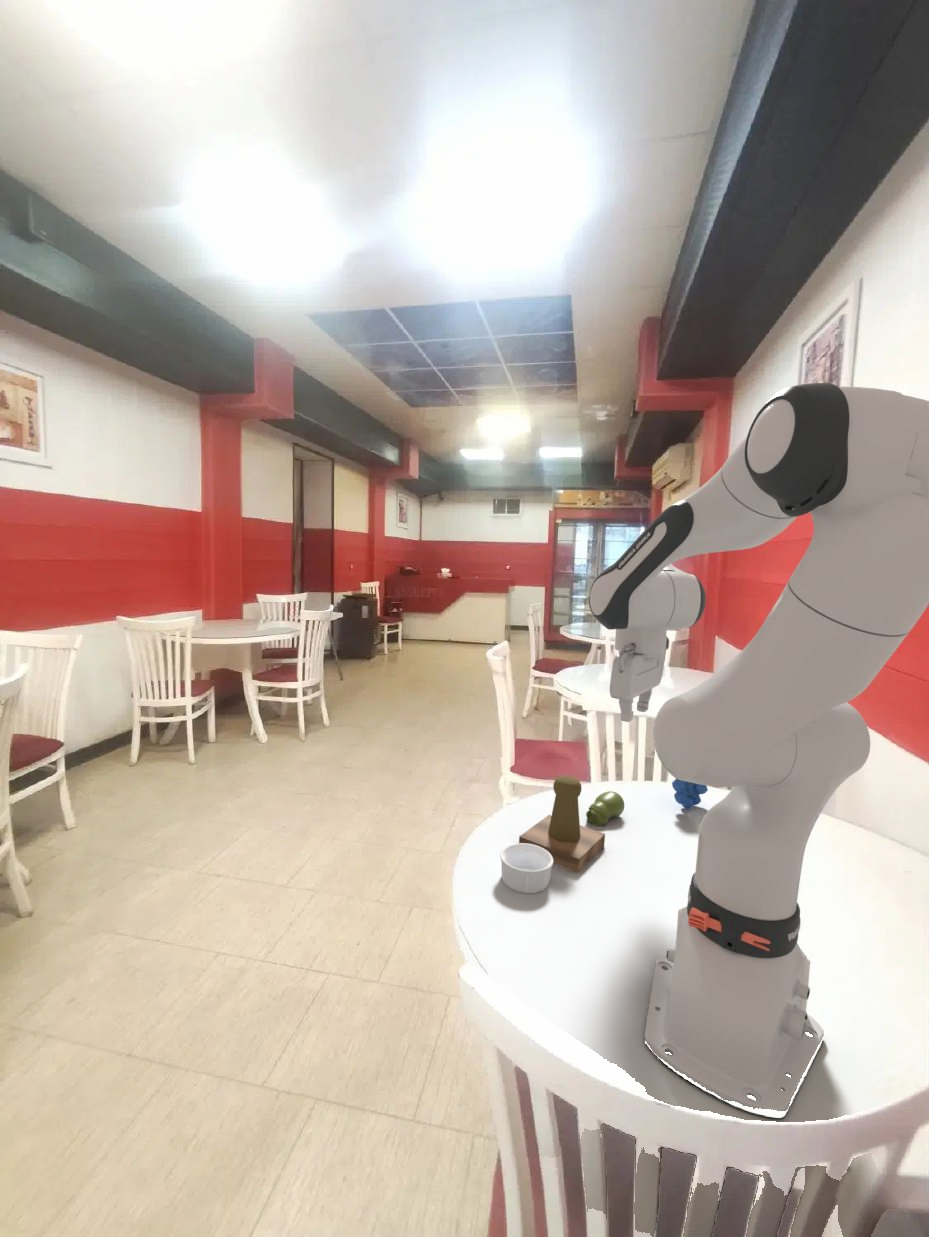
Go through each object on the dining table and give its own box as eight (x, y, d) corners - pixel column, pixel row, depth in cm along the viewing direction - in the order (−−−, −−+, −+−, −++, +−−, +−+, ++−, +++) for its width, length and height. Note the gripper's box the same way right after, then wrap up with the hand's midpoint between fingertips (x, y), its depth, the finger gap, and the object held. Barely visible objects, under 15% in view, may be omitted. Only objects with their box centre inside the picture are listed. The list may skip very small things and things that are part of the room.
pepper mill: (579, 828, 105) (583, 774, 104) (581, 844, 99) (585, 786, 98) (548, 825, 106) (551, 770, 105) (548, 840, 100) (551, 782, 99)
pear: (629, 793, 116) (601, 812, 110) (629, 815, 117) (602, 835, 111) (607, 784, 120) (579, 802, 114) (607, 805, 122) (580, 824, 115)
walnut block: (578, 872, 94) (579, 859, 94) (518, 849, 101) (519, 836, 101) (604, 846, 104) (605, 833, 104) (548, 826, 111) (548, 814, 111)
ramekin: (560, 893, 88) (562, 867, 88) (509, 899, 86) (511, 873, 85) (538, 864, 97) (540, 840, 96) (491, 869, 94) (493, 845, 94)
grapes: (690, 822, 116) (695, 768, 115) (662, 810, 121) (667, 758, 120) (719, 810, 123) (723, 759, 122) (691, 799, 128) (695, 750, 127)
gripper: (640, 648, 89) (634, 731, 90) (671, 639, 105) (666, 709, 107) (603, 644, 92) (597, 723, 93) (639, 636, 109) (634, 703, 110)
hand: (634, 715), depth 100 cm, fingers open, 8 cm apart
